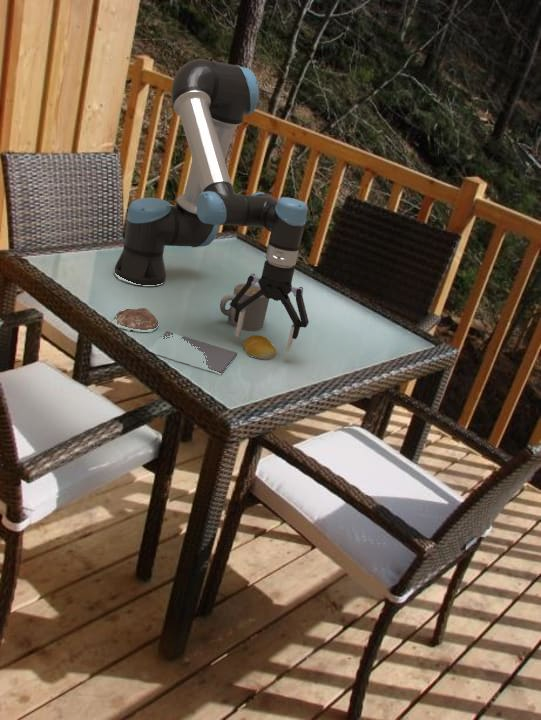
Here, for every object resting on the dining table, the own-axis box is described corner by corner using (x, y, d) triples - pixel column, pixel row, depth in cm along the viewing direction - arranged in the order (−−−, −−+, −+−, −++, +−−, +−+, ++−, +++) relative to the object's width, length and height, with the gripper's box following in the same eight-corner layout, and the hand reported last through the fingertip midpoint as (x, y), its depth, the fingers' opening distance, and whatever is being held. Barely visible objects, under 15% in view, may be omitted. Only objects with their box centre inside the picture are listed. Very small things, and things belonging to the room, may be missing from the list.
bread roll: (250, 360, 179) (253, 346, 178) (239, 344, 187) (242, 331, 185) (280, 361, 183) (283, 347, 181) (268, 345, 190) (271, 332, 188)
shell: (165, 322, 190) (167, 310, 189) (148, 339, 179) (150, 326, 177) (125, 310, 191) (127, 298, 190) (105, 326, 180) (107, 313, 178)
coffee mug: (259, 318, 206) (266, 285, 202) (266, 332, 197) (273, 299, 193) (213, 312, 202) (219, 279, 198) (218, 327, 193) (225, 293, 189)
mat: (146, 352, 171) (146, 349, 171) (166, 333, 183) (167, 331, 182) (221, 375, 168) (221, 372, 168) (236, 355, 180) (237, 352, 180)
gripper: (227, 253, 173) (212, 332, 182) (326, 280, 169) (306, 360, 178) (236, 246, 180) (221, 323, 188) (331, 272, 176) (312, 350, 185)
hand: (262, 341), depth 183 cm, fingers open, 13 cm apart
